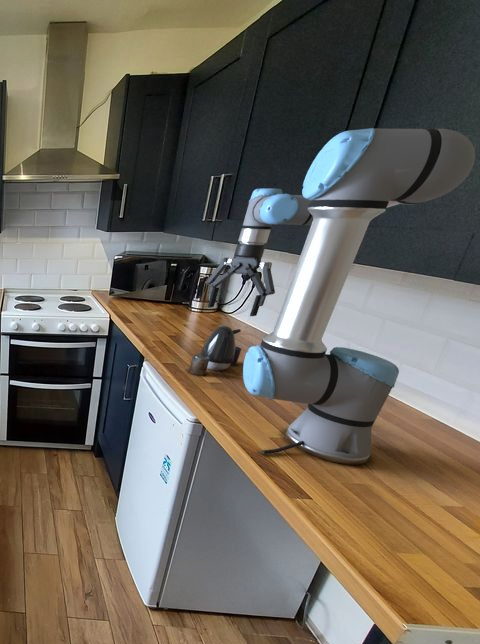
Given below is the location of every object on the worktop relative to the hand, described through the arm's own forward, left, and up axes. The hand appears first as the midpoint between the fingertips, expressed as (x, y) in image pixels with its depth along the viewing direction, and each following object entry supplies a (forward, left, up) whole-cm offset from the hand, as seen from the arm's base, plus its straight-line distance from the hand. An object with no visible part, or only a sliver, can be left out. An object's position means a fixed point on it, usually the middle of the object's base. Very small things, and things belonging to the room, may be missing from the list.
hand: (230, 311), depth 133 cm
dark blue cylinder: (+10, 0, -20) cm, 23 cm away
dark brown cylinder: (-10, 0, -20) cm, 23 cm away
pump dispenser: (0, 0, -21) cm, 21 cm away
